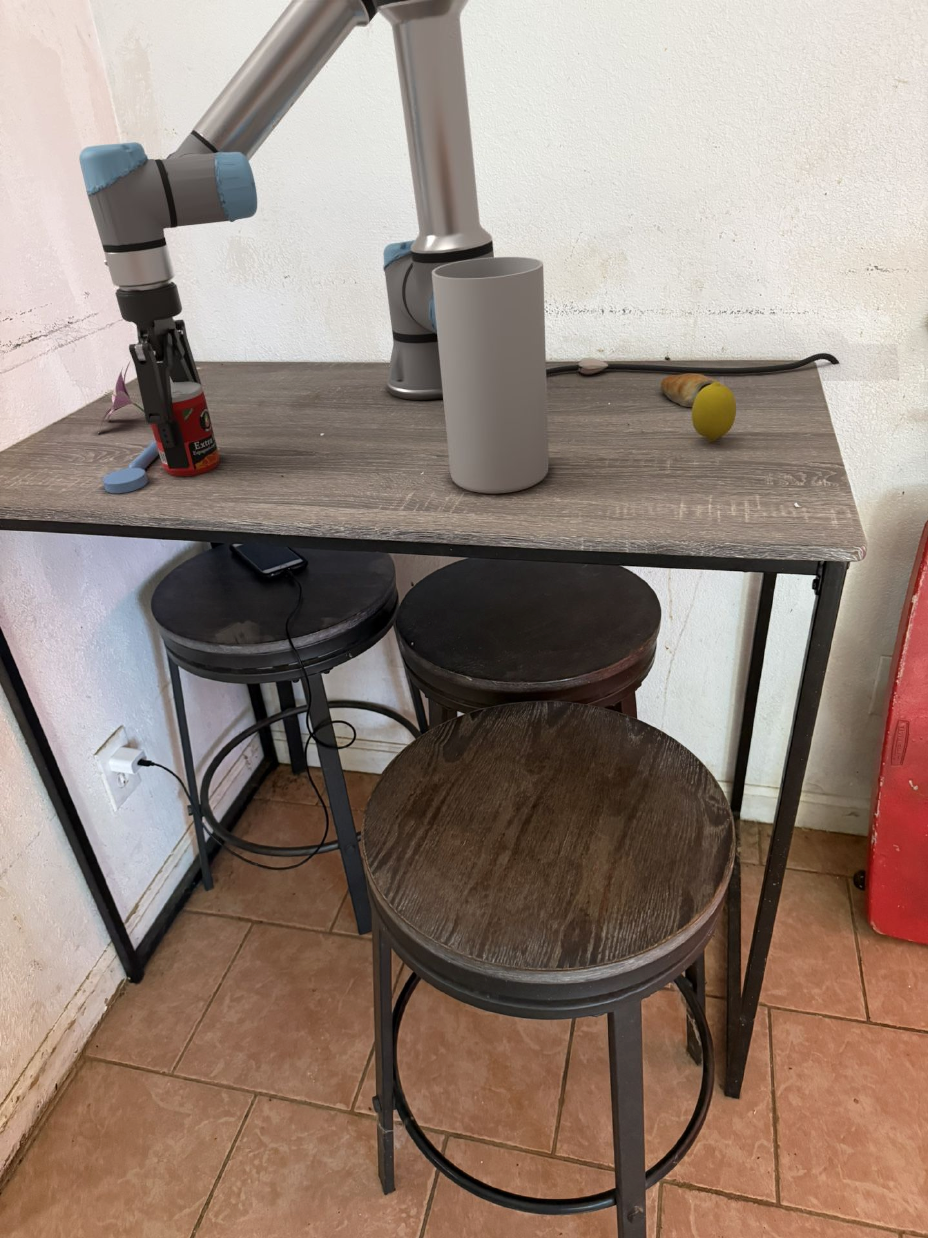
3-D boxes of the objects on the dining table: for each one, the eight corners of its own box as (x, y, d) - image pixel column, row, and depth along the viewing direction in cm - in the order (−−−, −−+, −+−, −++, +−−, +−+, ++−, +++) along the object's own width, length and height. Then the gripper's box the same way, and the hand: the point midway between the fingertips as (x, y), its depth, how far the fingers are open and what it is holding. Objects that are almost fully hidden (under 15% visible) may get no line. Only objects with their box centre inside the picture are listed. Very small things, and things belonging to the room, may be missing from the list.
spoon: (156, 437, 131) (153, 426, 130) (191, 436, 130) (188, 424, 129) (98, 494, 113) (94, 482, 112) (138, 492, 112) (134, 479, 111)
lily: (136, 413, 146) (92, 370, 140) (182, 388, 140) (139, 342, 134) (108, 458, 138) (60, 415, 132) (156, 434, 133) (108, 387, 127)
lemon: (734, 435, 113) (740, 375, 109) (731, 450, 109) (737, 389, 104) (692, 433, 115) (696, 374, 111) (687, 448, 110) (691, 387, 106)
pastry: (648, 394, 130) (649, 369, 128) (682, 385, 132) (684, 361, 130) (689, 409, 123) (691, 383, 121) (725, 400, 125) (727, 374, 123)
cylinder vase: (518, 502, 100) (508, 280, 87) (432, 486, 106) (409, 277, 93) (565, 464, 109) (562, 257, 96) (482, 452, 115) (469, 255, 102)
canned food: (206, 477, 115) (185, 398, 109) (153, 477, 117) (130, 399, 111) (230, 456, 121) (212, 380, 115) (180, 456, 123) (159, 381, 117)
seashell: (578, 370, 144) (578, 355, 142) (608, 368, 143) (608, 353, 142) (578, 377, 140) (578, 362, 139) (608, 376, 139) (608, 361, 138)
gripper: (146, 270, 115) (187, 431, 127) (80, 304, 98) (135, 486, 110) (199, 267, 114) (236, 429, 126) (143, 299, 97) (191, 484, 109)
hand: (189, 455), depth 118 cm, fingers closed on canned food, 8 cm apart
